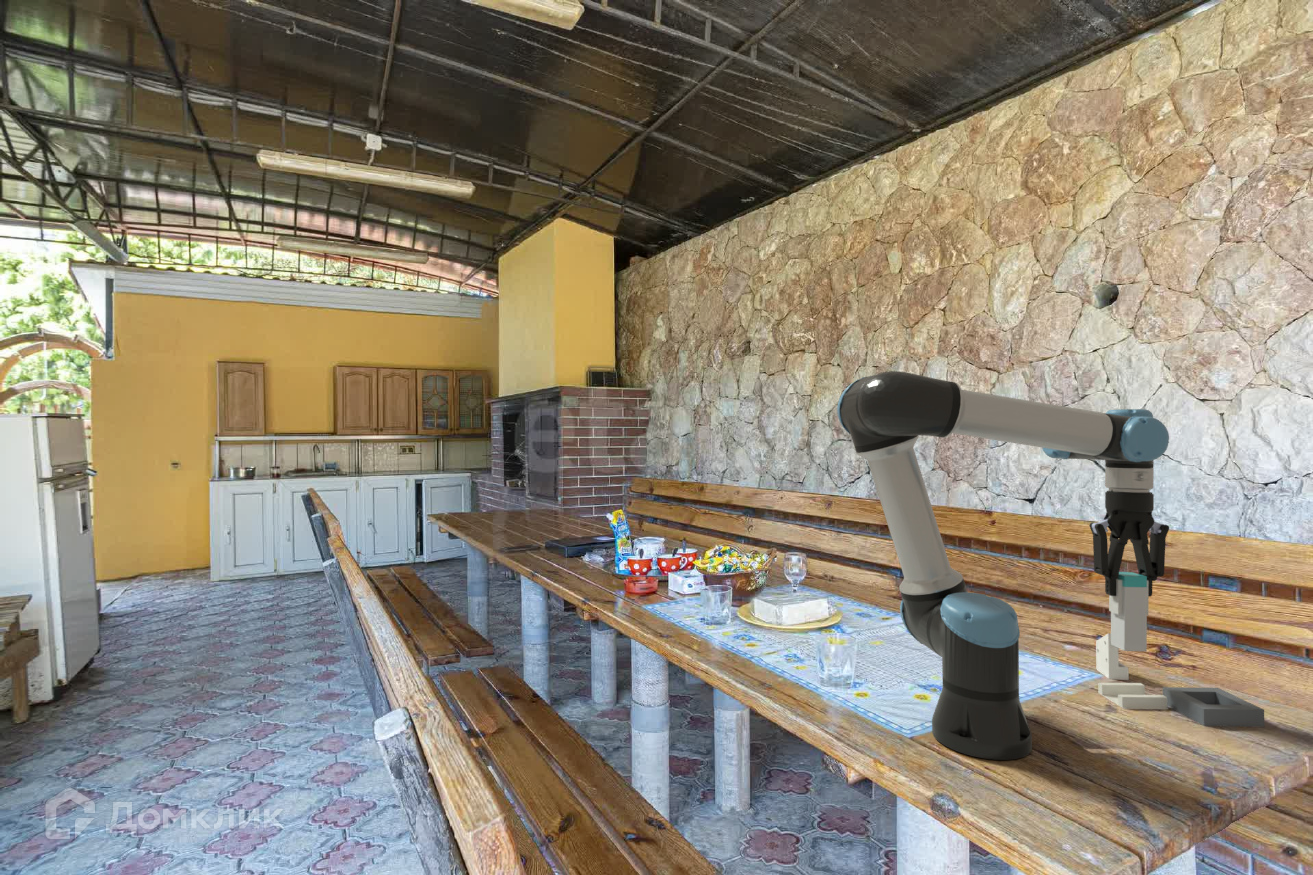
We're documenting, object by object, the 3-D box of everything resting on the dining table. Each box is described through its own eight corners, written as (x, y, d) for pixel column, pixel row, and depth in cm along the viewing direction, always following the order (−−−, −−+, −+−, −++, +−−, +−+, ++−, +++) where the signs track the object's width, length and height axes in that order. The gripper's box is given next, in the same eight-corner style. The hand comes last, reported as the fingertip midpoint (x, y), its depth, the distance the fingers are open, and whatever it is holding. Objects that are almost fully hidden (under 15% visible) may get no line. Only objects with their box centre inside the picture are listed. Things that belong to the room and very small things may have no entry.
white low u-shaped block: (1123, 711, 122) (1123, 697, 122) (1097, 695, 130) (1097, 681, 130) (1168, 712, 121) (1168, 698, 121) (1139, 695, 129) (1139, 682, 129)
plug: (1124, 650, 124) (1124, 576, 124) (1110, 644, 128) (1111, 571, 128) (1146, 651, 123) (1146, 576, 123) (1132, 644, 127) (1132, 572, 127)
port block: (1203, 729, 114) (1203, 709, 114) (1161, 705, 124) (1160, 686, 124) (1266, 730, 114) (1266, 709, 114) (1218, 705, 124) (1218, 687, 124)
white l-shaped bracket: (1119, 677, 132) (1108, 633, 137) (1099, 686, 141) (1090, 644, 145) (1139, 678, 132) (1127, 634, 136) (1118, 687, 140) (1108, 645, 145)
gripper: (1094, 491, 122) (1094, 617, 122) (1190, 492, 121) (1190, 619, 121) (1071, 488, 130) (1070, 607, 130) (1161, 489, 129) (1161, 608, 129)
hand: (1128, 612), depth 126 cm, fingers closed on plug, 4 cm apart
